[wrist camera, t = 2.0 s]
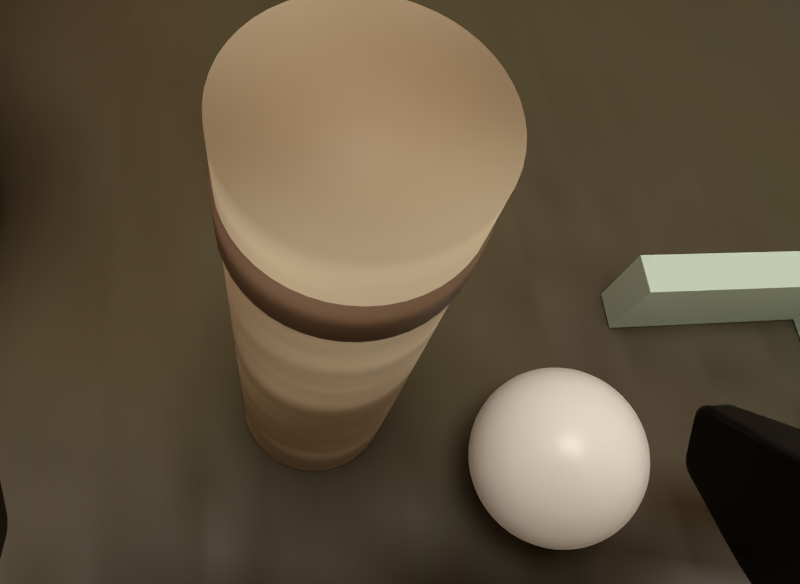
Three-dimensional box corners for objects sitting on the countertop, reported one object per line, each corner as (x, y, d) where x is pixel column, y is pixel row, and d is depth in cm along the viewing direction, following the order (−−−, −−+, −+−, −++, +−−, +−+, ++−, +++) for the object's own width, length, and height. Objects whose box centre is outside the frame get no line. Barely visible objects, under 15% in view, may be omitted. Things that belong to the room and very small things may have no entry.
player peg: (409, 435, 20) (591, 193, 9) (277, 499, 19) (281, 315, 7) (348, 314, 22) (436, -40, 10) (220, 367, 20) (146, 31, 9)
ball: (633, 510, 21) (723, 483, 16) (501, 588, 19) (564, 580, 15) (551, 371, 22) (615, 315, 18) (422, 434, 20) (460, 388, 16)
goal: (940, 630, 20) (1034, 632, 18) (691, 667, 19) (755, 675, 16) (811, 286, 25) (872, 249, 22) (601, 293, 23) (640, 255, 21)
